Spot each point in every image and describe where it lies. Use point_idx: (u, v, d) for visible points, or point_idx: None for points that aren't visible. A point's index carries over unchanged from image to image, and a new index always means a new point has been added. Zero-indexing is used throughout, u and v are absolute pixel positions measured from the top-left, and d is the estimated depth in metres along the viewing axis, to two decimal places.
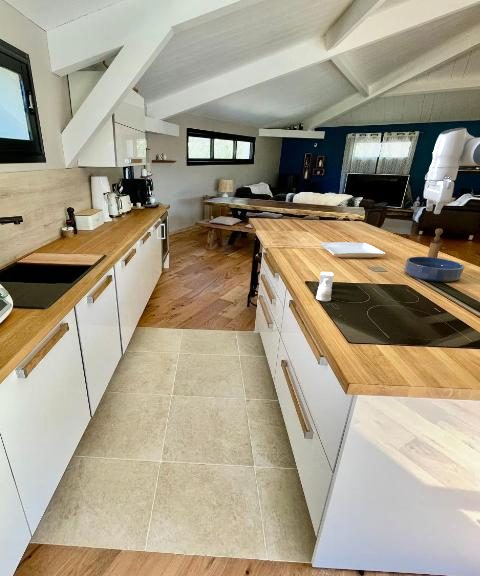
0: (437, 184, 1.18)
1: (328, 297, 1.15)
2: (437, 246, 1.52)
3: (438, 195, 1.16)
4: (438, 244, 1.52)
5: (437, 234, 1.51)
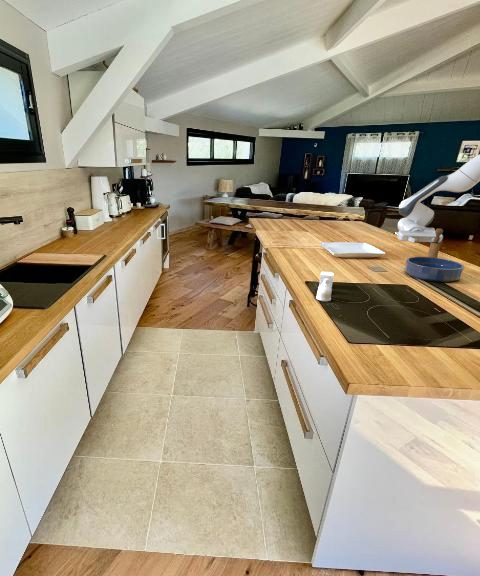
0: None
1: (328, 297, 1.15)
2: (437, 246, 1.52)
3: None
4: (438, 244, 1.52)
5: (437, 234, 1.51)
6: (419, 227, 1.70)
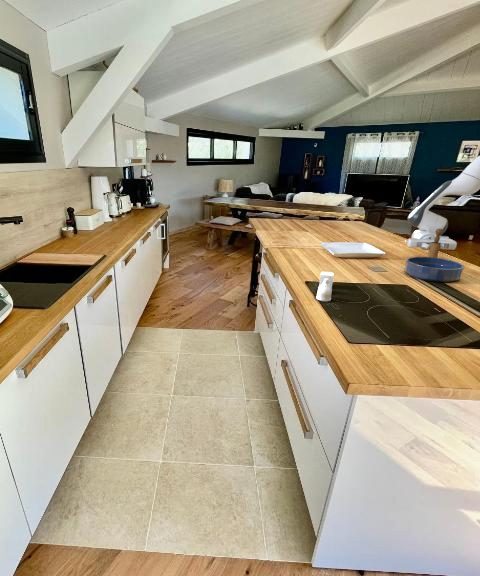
0: None
1: (328, 297, 1.15)
2: (437, 246, 1.52)
3: None
4: (438, 244, 1.52)
5: (437, 234, 1.51)
6: (431, 235, 1.62)
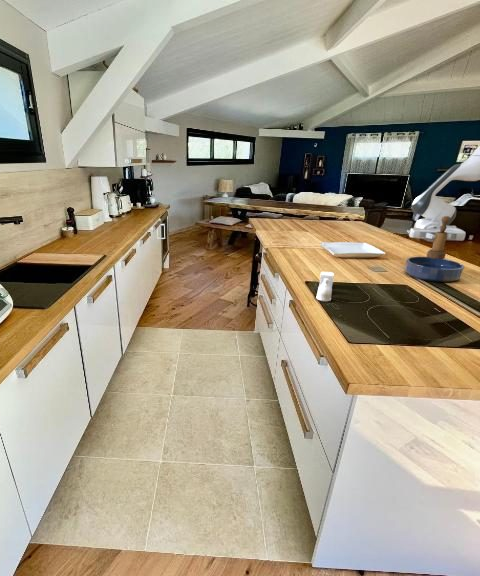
0: None
1: (328, 297, 1.15)
2: (443, 236, 1.33)
3: None
4: (445, 234, 1.33)
5: (443, 223, 1.33)
6: (436, 224, 1.44)
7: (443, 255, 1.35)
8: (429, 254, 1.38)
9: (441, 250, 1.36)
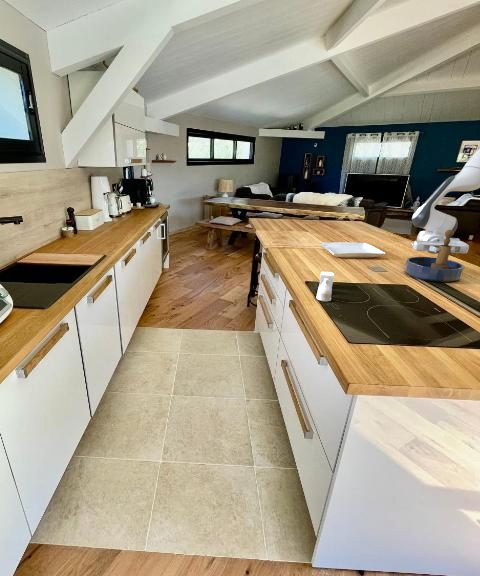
0: None
1: (328, 297, 1.15)
2: (447, 249, 1.34)
3: None
4: (448, 247, 1.34)
5: (447, 236, 1.33)
6: (439, 237, 1.44)
7: (447, 268, 1.36)
8: (433, 267, 1.39)
9: (445, 263, 1.36)
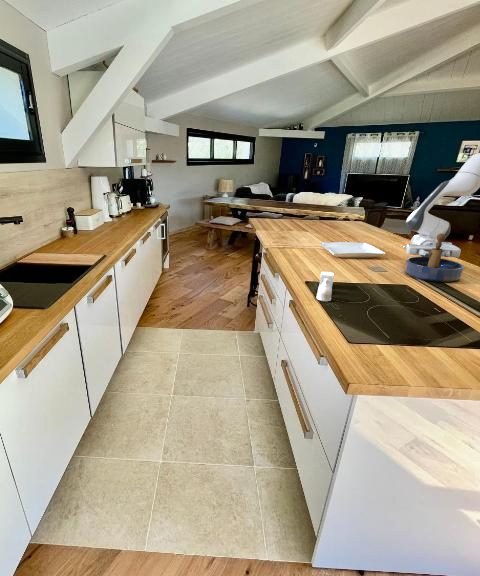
0: None
1: (328, 297, 1.15)
2: (438, 253, 1.36)
3: None
4: (440, 251, 1.36)
5: (439, 240, 1.35)
6: (432, 241, 1.46)
7: None
8: None
9: (437, 266, 1.38)
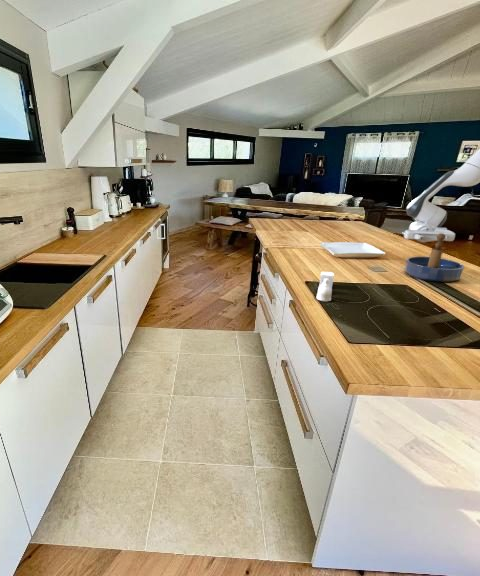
0: None
1: (328, 297, 1.15)
2: (438, 253, 1.36)
3: None
4: (440, 251, 1.36)
5: (439, 240, 1.35)
6: (428, 226, 1.57)
7: None
8: None
9: (437, 266, 1.38)
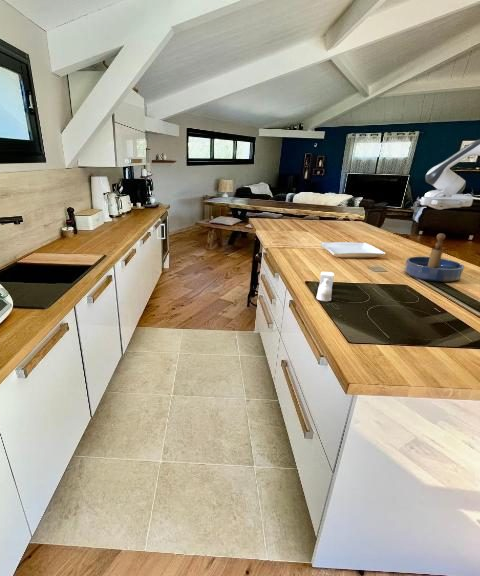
0: None
1: (328, 297, 1.15)
2: (438, 253, 1.36)
3: None
4: (440, 251, 1.36)
5: (439, 240, 1.35)
6: (445, 193, 1.56)
7: None
8: None
9: (437, 266, 1.38)
